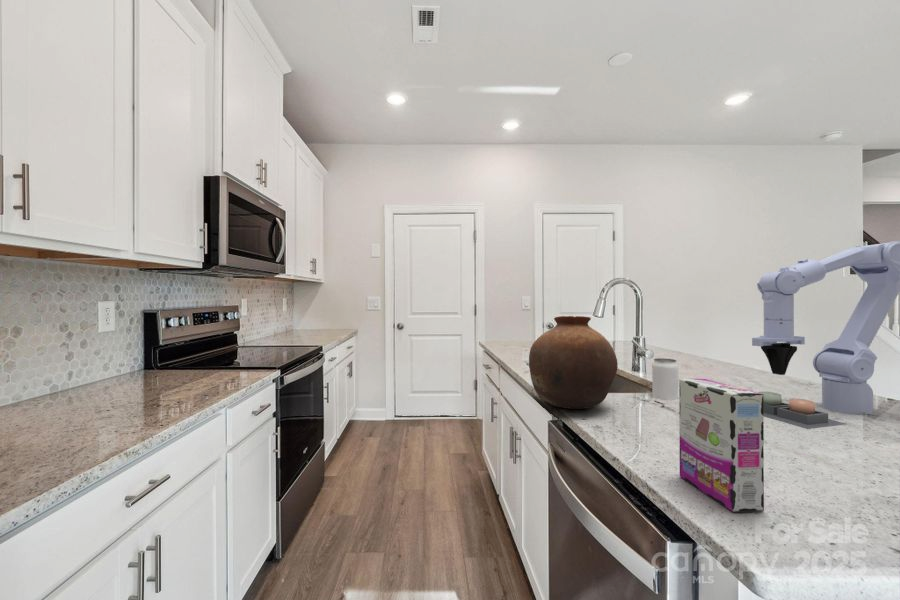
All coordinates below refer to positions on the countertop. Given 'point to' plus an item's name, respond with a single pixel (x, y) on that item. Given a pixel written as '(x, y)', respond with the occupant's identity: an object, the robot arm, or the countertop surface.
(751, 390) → the cream button
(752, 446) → the candy bar box
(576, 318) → the pottery
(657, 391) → the can
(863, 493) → the countertop surface
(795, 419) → the panel
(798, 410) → the terracotta button
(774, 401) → the sage button
